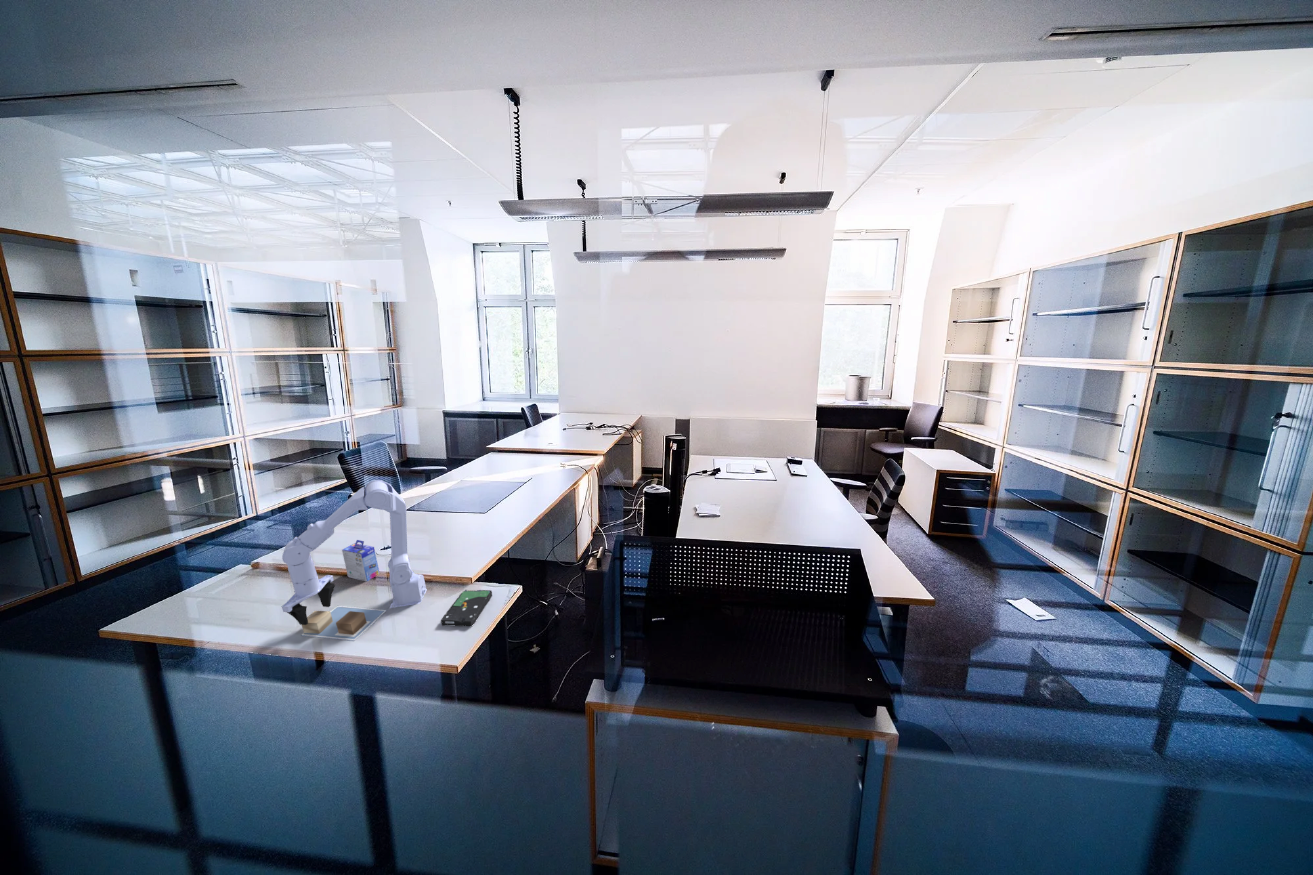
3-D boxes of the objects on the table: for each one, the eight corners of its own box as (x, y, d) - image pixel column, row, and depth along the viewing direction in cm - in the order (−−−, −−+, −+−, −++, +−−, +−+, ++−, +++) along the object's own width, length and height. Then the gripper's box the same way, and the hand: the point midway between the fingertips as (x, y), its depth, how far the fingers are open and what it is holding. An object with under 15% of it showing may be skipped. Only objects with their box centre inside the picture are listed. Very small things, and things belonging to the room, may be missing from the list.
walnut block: (366, 622, 126) (364, 612, 125) (353, 634, 121) (350, 624, 120) (352, 621, 127) (349, 611, 125) (338, 633, 122) (335, 622, 121)
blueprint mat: (387, 611, 132) (386, 609, 131) (354, 642, 119) (354, 640, 119) (338, 607, 134) (337, 605, 133) (301, 636, 121) (300, 635, 121)
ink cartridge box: (381, 574, 151) (373, 541, 146) (367, 583, 146) (359, 549, 141) (361, 569, 153) (353, 536, 149) (347, 578, 148) (338, 544, 144)
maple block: (333, 621, 127) (330, 611, 125) (319, 633, 122) (316, 623, 121) (317, 620, 127) (314, 610, 125) (304, 632, 122) (300, 622, 121)
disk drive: (473, 628, 126) (493, 596, 140) (472, 621, 125) (492, 589, 139) (441, 627, 126) (464, 595, 140) (440, 620, 125) (463, 588, 139)
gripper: (315, 562, 126) (325, 597, 130) (267, 592, 112) (280, 631, 116) (335, 564, 125) (344, 599, 129) (289, 594, 111) (302, 633, 115)
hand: (315, 614), depth 123 cm, fingers open, 7 cm apart
